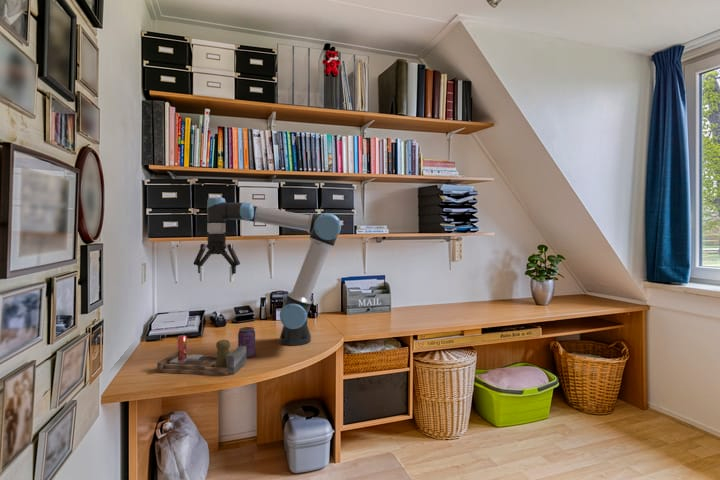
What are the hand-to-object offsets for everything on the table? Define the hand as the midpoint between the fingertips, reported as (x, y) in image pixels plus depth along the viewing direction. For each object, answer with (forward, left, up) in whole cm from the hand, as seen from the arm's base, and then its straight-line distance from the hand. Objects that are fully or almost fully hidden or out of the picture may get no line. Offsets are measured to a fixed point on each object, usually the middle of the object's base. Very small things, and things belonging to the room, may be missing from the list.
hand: (217, 281), depth 169 cm
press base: (-3, +18, -32) cm, 37 cm away
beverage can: (-15, +4, -32) cm, 35 cm away
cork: (-11, +18, -32) cm, 38 cm away
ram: (+3, +18, -30) cm, 36 cm away
